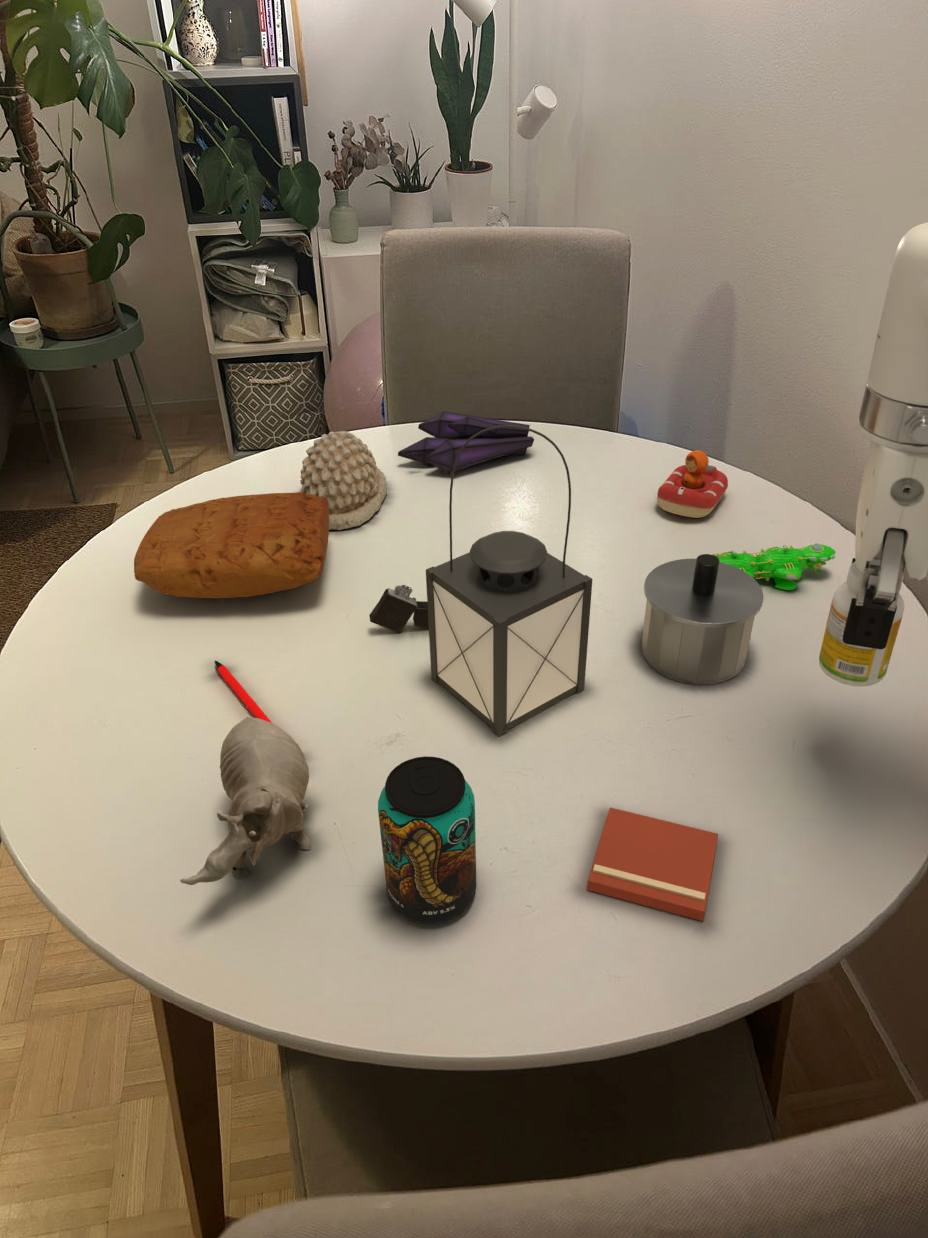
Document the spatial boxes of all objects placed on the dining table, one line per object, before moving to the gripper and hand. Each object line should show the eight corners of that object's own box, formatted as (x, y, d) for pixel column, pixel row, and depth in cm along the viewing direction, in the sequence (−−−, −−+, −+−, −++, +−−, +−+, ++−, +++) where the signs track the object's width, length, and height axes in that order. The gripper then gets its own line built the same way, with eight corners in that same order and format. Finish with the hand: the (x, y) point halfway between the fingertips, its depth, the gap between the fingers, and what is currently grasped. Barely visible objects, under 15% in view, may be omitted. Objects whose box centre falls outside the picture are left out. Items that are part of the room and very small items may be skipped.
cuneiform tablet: (343, 539, 116) (336, 482, 111) (324, 618, 102) (316, 557, 97) (170, 541, 116) (157, 484, 112) (129, 619, 103) (111, 559, 98)
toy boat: (647, 516, 119) (653, 463, 114) (677, 480, 127) (683, 429, 123) (704, 530, 116) (712, 476, 111) (730, 491, 124) (739, 440, 119)
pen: (297, 770, 83) (295, 761, 82) (211, 665, 95) (209, 657, 95) (305, 766, 83) (304, 757, 82) (219, 662, 96) (217, 654, 95)
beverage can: (391, 935, 69) (379, 828, 62) (383, 862, 74) (372, 756, 67) (483, 922, 70) (482, 814, 62) (468, 850, 75) (466, 744, 68)
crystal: (527, 398, 135) (393, 400, 132) (546, 438, 127) (404, 441, 123) (521, 440, 140) (391, 443, 136) (539, 481, 132) (402, 486, 128)
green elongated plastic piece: (842, 587, 105) (851, 555, 102) (692, 604, 103) (697, 572, 100) (816, 557, 110) (823, 526, 108) (672, 572, 108) (676, 541, 106)
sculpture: (395, 473, 130) (390, 406, 125) (373, 533, 117) (367, 462, 111) (313, 470, 132) (305, 404, 126) (282, 529, 118) (271, 459, 112)
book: (716, 843, 75) (719, 831, 74) (703, 921, 69) (705, 909, 68) (608, 816, 78) (610, 804, 77) (586, 890, 72) (587, 878, 71)
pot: (750, 633, 98) (762, 574, 94) (739, 694, 90) (752, 633, 86) (651, 615, 101) (658, 557, 97) (633, 672, 93) (639, 613, 89)
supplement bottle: (861, 645, 80) (886, 549, 74) (899, 682, 76) (929, 583, 70) (805, 655, 79) (826, 559, 73) (840, 693, 75) (866, 594, 69)
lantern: (585, 690, 91) (606, 428, 75) (499, 738, 86) (500, 467, 69) (513, 637, 99) (518, 388, 82) (429, 679, 93) (416, 421, 77)
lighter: (431, 635, 103) (454, 601, 101) (433, 646, 101) (457, 612, 99) (368, 611, 100) (391, 575, 97) (370, 622, 98) (393, 585, 96)
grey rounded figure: (333, 730, 83) (285, 691, 69) (333, 886, 79) (282, 879, 65) (250, 735, 84) (186, 698, 70) (246, 890, 80) (176, 884, 66)
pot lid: (766, 577, 94) (774, 539, 92) (755, 642, 86) (764, 602, 83) (654, 559, 98) (658, 522, 95) (633, 620, 89) (637, 580, 86)
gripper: (990, 470, 57) (917, 696, 67) (966, 375, 70) (909, 576, 80) (860, 456, 59) (810, 677, 69) (861, 367, 72) (818, 564, 82)
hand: (863, 621), depth 74 cm, fingers closed on supplement bottle, 5 cm apart
